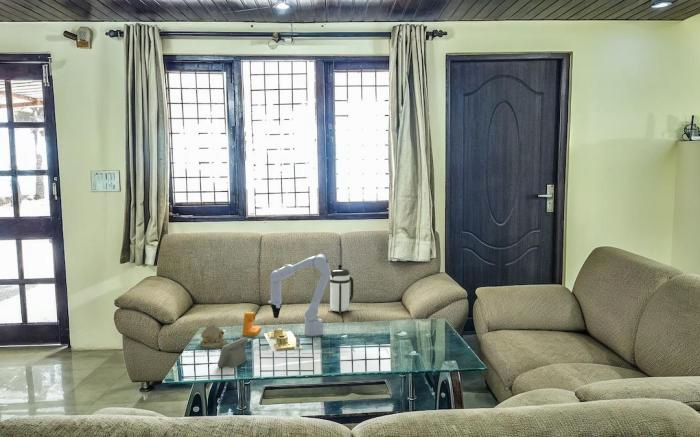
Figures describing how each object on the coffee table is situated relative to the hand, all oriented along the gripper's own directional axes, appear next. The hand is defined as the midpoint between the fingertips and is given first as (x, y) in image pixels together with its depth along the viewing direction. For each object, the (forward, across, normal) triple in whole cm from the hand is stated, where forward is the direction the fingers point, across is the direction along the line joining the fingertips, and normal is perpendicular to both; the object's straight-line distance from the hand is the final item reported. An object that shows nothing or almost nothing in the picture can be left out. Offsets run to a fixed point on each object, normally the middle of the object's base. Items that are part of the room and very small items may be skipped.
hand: (276, 317), depth 278 cm
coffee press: (+10, -34, +47) cm, 59 cm away
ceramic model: (+10, +5, -33) cm, 35 cm away
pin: (+9, +22, +7) cm, 25 cm away
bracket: (+10, -6, -12) cm, 16 cm away
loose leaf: (+8, +4, 0) cm, 9 cm away
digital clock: (+10, +34, -26) cm, 44 cm away
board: (+9, +12, +1) cm, 16 cm away
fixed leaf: (+9, +20, 0) cm, 22 cm away
